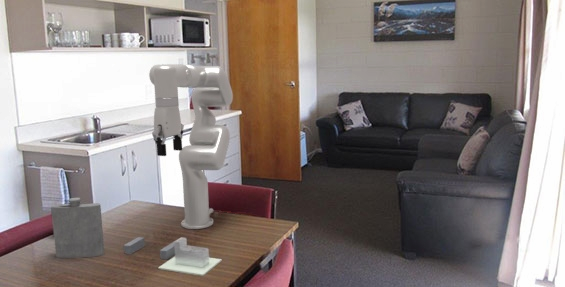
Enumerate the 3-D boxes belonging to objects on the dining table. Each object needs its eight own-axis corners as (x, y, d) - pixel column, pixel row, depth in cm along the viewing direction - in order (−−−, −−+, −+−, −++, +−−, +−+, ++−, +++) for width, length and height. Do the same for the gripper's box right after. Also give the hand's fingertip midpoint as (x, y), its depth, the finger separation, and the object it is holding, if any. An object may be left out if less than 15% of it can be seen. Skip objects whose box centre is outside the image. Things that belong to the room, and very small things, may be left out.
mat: (179, 254, 169) (179, 253, 169) (221, 260, 163) (221, 259, 163) (158, 269, 158) (158, 267, 158) (203, 276, 152) (203, 274, 152)
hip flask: (105, 252, 173) (100, 195, 169) (102, 256, 169) (97, 199, 165) (58, 253, 172) (52, 197, 168) (53, 258, 168) (47, 200, 164)
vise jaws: (138, 245, 178) (138, 237, 178) (180, 250, 172) (179, 242, 172) (124, 253, 171) (123, 245, 170) (167, 259, 165) (166, 251, 164)
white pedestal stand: (182, 259, 164) (181, 237, 163) (209, 263, 160) (208, 240, 159) (175, 263, 160) (174, 241, 159) (202, 268, 157) (201, 245, 156)
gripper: (171, 100, 178) (174, 147, 181) (141, 105, 162) (145, 157, 165) (190, 100, 175) (192, 148, 178) (161, 105, 159) (165, 158, 162)
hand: (170, 152), depth 172 cm, fingers open, 9 cm apart
